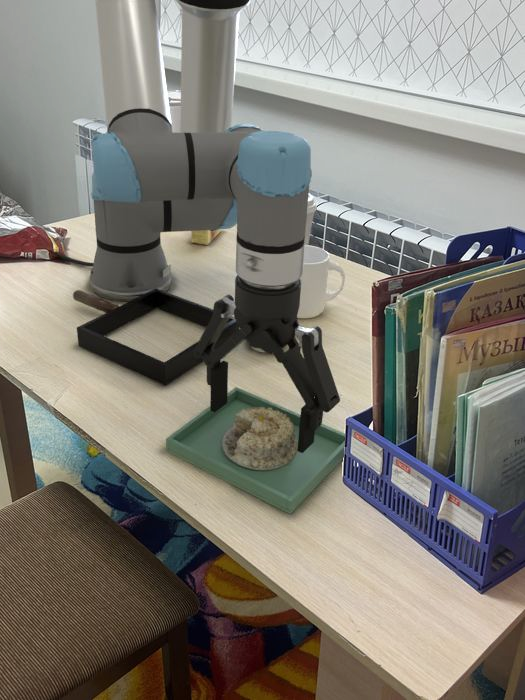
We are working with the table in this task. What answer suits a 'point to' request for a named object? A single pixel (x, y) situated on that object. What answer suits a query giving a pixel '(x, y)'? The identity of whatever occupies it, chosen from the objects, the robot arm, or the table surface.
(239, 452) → the cake
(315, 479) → the tray
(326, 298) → the mug
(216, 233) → the candy box
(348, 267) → the table surface
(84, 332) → the pan
